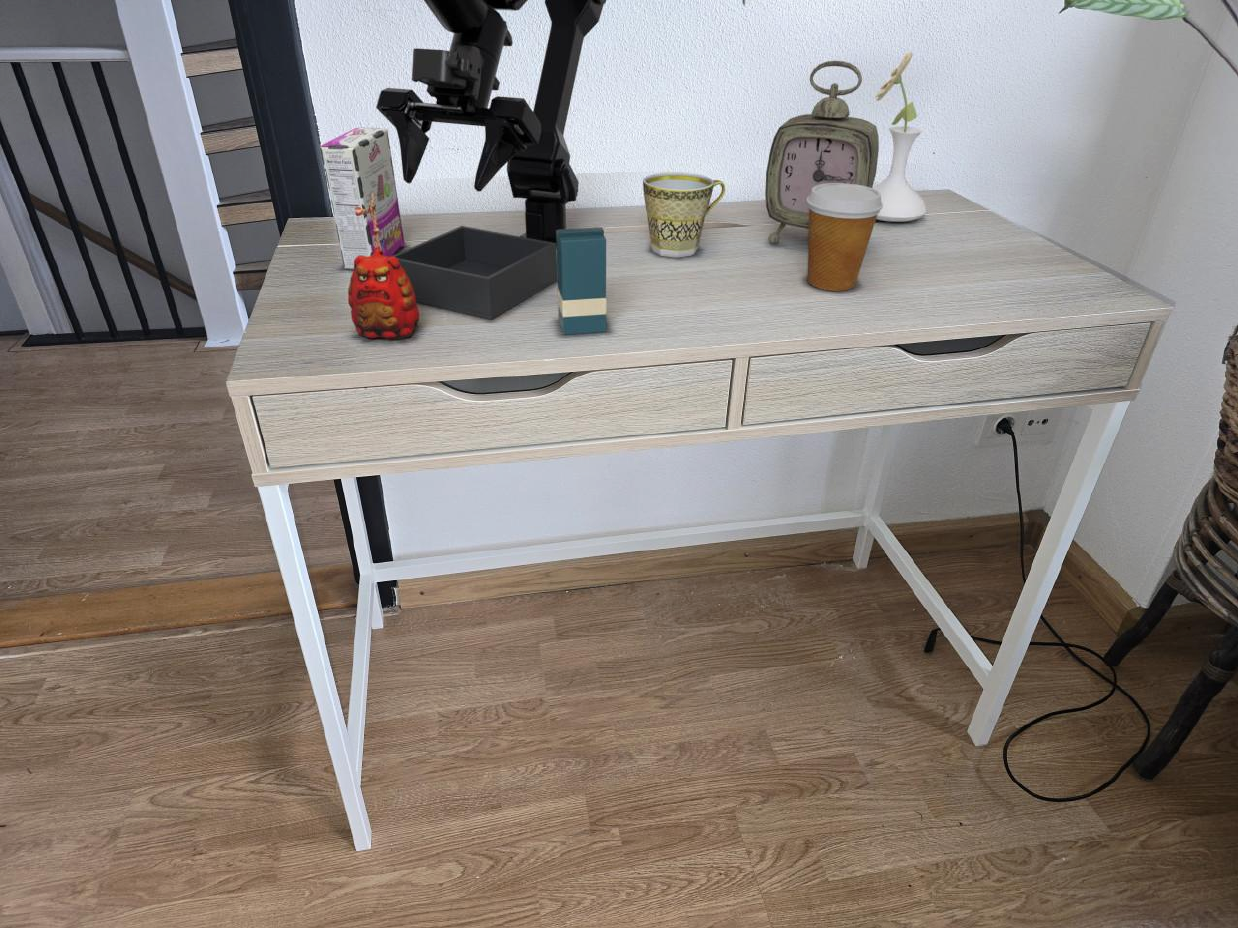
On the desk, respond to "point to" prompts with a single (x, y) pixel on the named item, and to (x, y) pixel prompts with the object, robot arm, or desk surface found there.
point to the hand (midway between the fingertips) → (441, 186)
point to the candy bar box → (363, 192)
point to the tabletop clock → (818, 154)
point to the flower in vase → (900, 161)
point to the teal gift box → (581, 280)
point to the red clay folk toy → (381, 293)
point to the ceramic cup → (677, 210)
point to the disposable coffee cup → (839, 232)
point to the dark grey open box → (478, 270)
